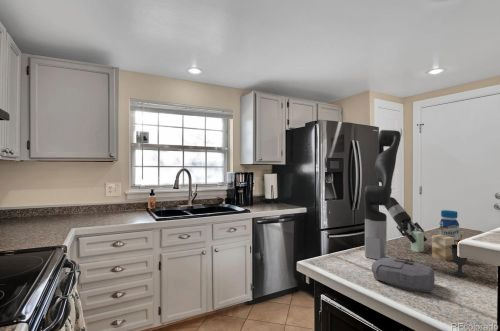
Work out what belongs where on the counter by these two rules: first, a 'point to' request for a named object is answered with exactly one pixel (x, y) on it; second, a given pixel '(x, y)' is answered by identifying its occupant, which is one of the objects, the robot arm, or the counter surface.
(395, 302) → the counter surface
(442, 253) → the tower bottom
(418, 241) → the sage block
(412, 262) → the grey rounded bag
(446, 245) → the tower top
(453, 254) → the sundae
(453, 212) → the beverage bottle
